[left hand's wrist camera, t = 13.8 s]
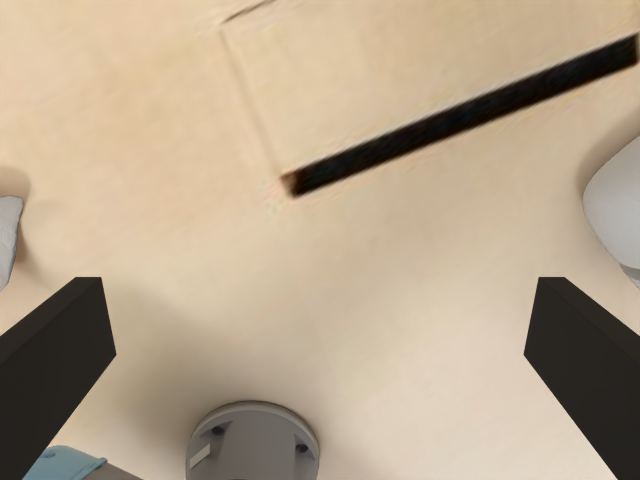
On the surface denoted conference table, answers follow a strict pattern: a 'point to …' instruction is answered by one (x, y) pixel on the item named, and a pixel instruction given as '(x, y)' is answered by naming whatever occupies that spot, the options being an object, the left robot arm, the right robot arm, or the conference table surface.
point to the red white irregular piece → (8, 235)
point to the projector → (618, 208)
